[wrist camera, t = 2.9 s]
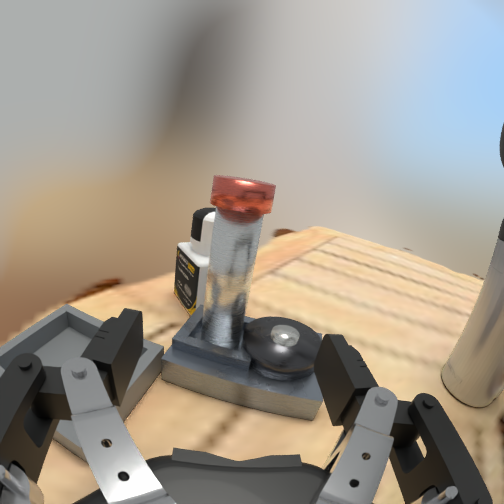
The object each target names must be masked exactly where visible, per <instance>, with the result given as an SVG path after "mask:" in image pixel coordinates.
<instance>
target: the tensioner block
mask: <svg viewBox="0 0 504 504" xmlns="http://www.w3.org/2000/svg"><path fill="white" fill-rule="evenodd" d="M203 310H204V305H201V304H200V306H199V307H198V308H197V309H196V311H195V312H194V313H193V314H192V315H191V317H190V318H189V319H188V320H187V321H186V323H185V324H184V325H183V326H182V328H181V329H180V330H179V331H178V332H177V334H176V335H175V336H174V337H173V338H172V345H171V347H170V348H169V349H168V350H167V352H166V353H165V354H164V355H163V357H162V358H161V371H162V380H165V381H167V382H170V383H173V384H175V385H178V386H181V387H184V388H186V389H189V390H192V391H195V392H198V393H201V394H204V395H207V396H211V397H214V398H217V399H220V400H224V401H227V402H231V403H234V404H238V405H242V406H246V407H250V408H254V409H258V410H262V411H266V412H271V413H275V414H280V415H285V416H290V417H296V418H301V419H307V420H313V419H314V417H315V415H316V413H317V411H318V410H319V408H320V406H321V404H322V402H323V396H322V393H321V390H320V387H319V385H318V382H317V379H316V376H315V373H314V362H315V358H316V356H317V353H318V350H319V348H320V345H321V342H322V334H321V333H316V332H315V331H314V330H313V329H311V328H310V327H308V326H306V325H305V324H302V323H300V322H298V321H295V320H292V319H288V318H283V317H263V318H258V319H254V318H250V317H246V316H245V319H244V324H243V330H242V335H241V340H240V344H239V346H238V347H237V348H235V349H229V348H226V347H222V346H219V345H215V344H212V343H208V342H205V341H202V340H201V330H202V320H203Z"/></svg>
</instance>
